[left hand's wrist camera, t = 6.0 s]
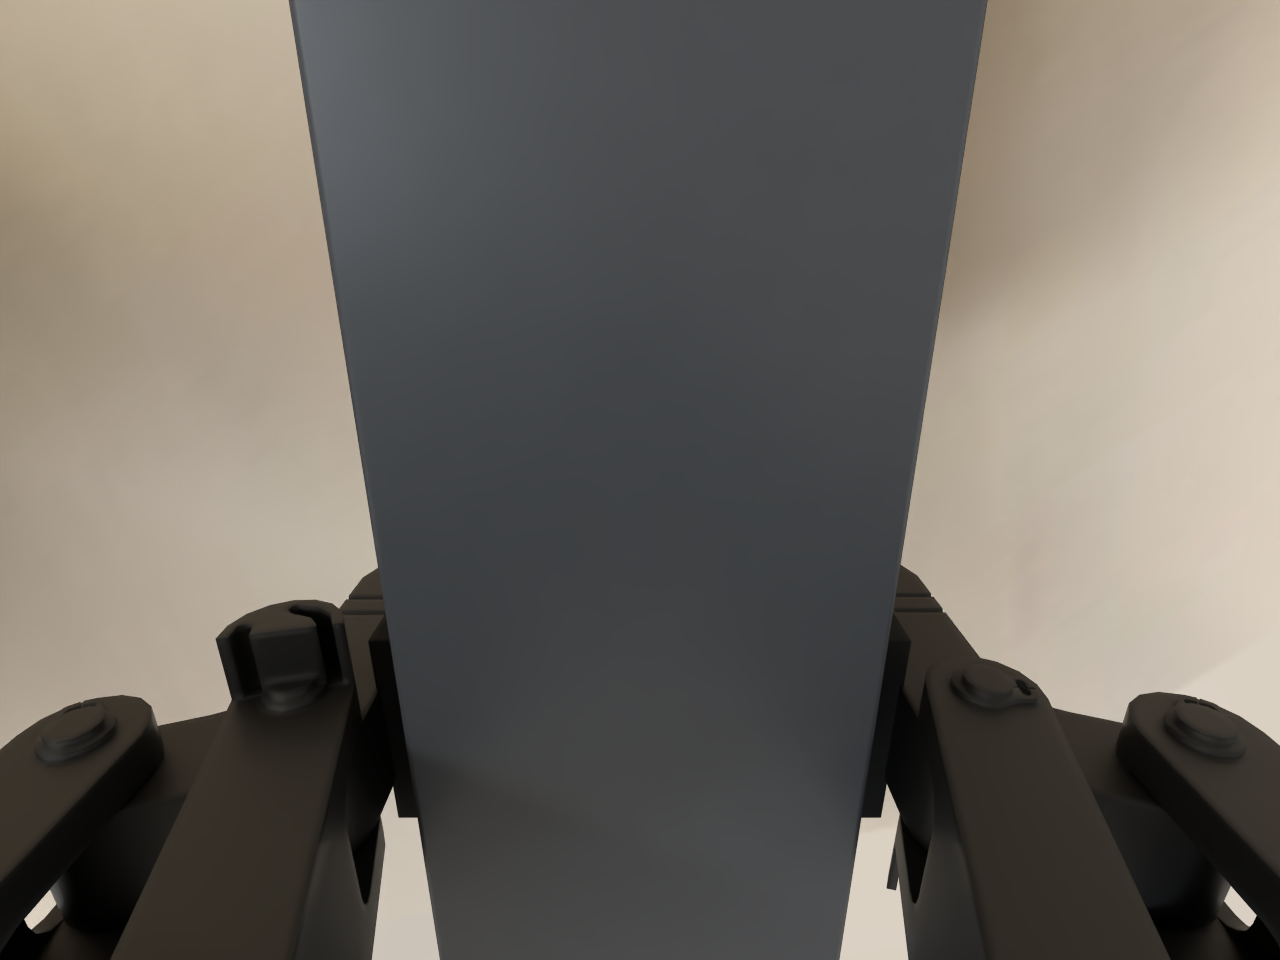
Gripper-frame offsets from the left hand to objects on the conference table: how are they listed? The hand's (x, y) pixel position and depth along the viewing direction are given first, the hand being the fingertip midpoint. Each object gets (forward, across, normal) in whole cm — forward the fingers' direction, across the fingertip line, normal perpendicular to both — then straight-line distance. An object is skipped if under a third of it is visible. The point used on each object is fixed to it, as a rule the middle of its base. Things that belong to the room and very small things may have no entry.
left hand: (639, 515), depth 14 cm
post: (+1, 0, -26) cm, 26 cm away
